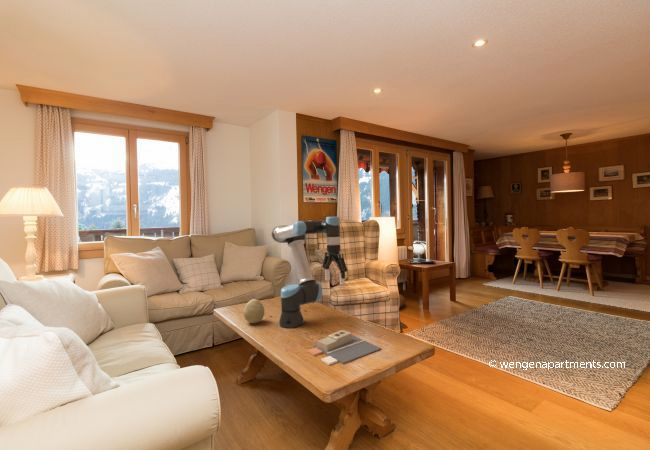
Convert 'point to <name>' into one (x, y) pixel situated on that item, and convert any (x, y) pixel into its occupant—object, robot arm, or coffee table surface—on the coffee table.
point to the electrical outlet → (334, 340)
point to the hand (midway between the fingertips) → (334, 282)
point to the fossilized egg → (254, 311)
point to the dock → (346, 351)
